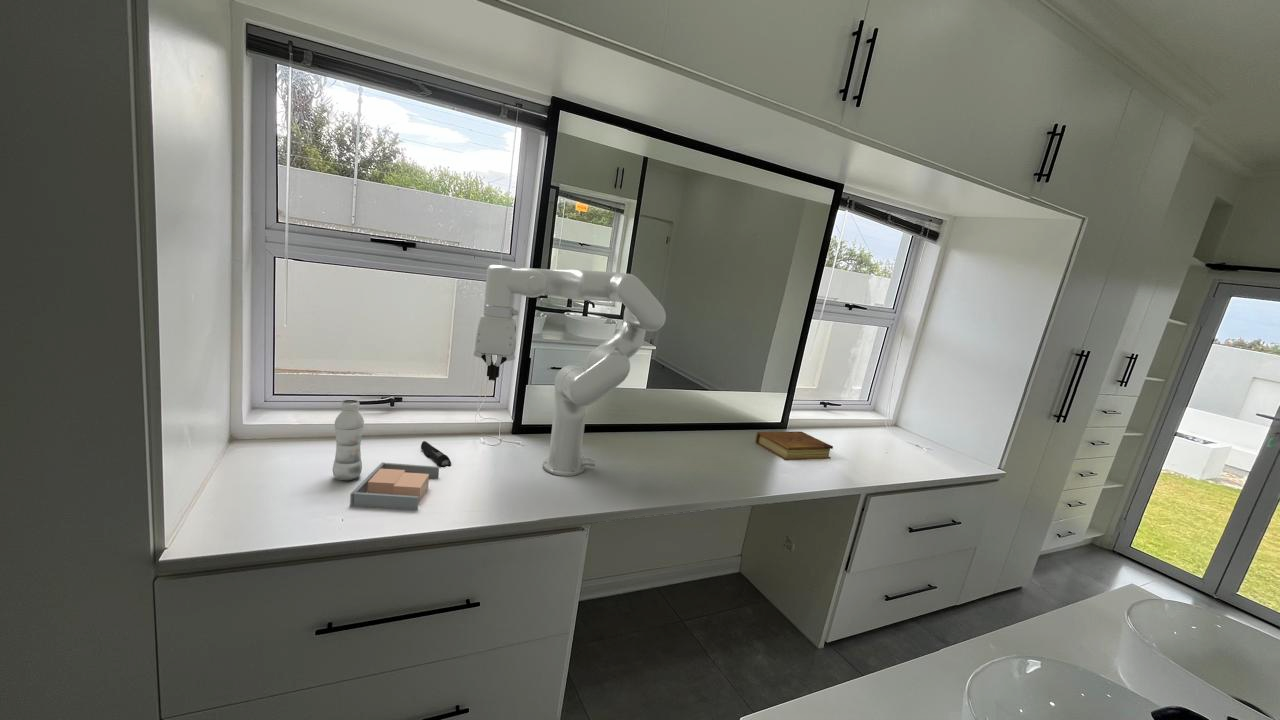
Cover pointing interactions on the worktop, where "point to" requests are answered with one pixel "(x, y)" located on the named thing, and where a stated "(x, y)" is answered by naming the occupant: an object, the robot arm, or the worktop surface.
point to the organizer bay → (387, 500)
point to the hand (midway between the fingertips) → (492, 379)
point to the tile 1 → (384, 481)
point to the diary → (793, 445)
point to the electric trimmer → (435, 455)
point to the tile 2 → (412, 485)
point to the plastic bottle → (348, 441)
